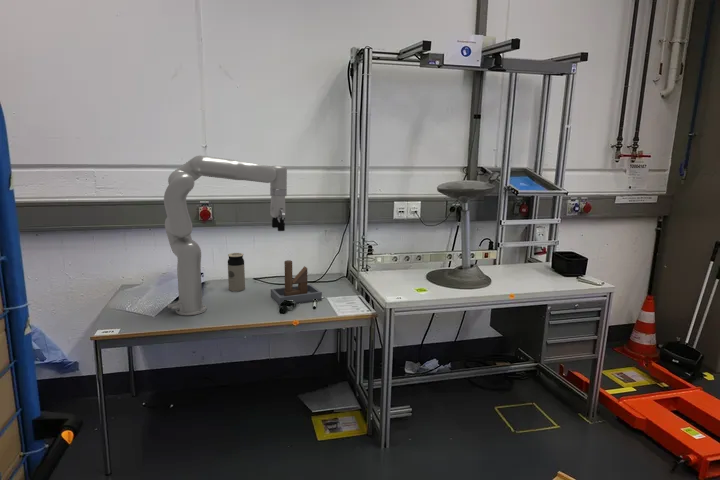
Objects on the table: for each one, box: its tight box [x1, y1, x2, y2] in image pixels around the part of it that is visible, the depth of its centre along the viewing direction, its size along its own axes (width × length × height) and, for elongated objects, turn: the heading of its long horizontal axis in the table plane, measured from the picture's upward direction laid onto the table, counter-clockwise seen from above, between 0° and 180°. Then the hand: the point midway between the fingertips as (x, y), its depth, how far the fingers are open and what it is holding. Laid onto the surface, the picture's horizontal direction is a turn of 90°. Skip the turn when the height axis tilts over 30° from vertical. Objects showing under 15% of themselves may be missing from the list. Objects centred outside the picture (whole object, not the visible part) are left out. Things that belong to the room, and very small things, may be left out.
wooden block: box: [284, 259, 308, 296], centre depth 226 cm, size 4×11×18 cm, turn 118°
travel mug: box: [227, 252, 246, 292], centre depth 239 cm, size 8×8×18 cm
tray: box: [270, 283, 323, 306], centre depth 228 cm, size 20×14×4 cm
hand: (278, 229), depth 226 cm, fingers open, 9 cm apart
